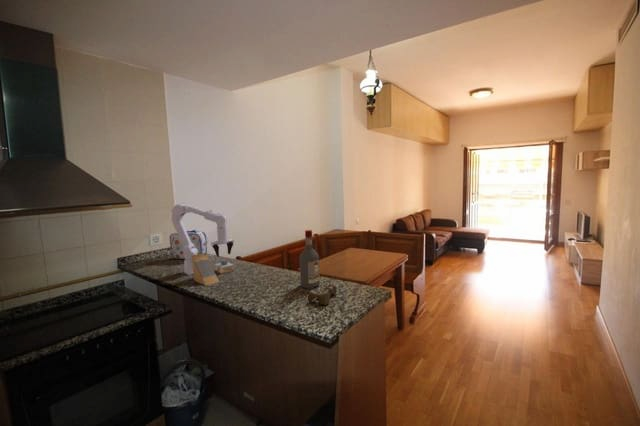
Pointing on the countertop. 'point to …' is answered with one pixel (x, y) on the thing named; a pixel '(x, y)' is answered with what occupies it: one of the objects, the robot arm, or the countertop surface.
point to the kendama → (322, 295)
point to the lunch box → (196, 238)
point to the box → (224, 269)
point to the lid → (224, 264)
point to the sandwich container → (203, 270)
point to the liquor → (309, 264)
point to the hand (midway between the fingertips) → (223, 255)
